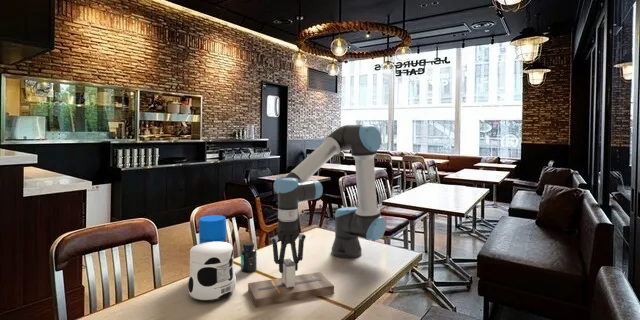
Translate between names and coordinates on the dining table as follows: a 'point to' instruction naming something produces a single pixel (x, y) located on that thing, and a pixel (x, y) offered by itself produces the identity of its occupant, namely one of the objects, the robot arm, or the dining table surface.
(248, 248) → the supplement bottle
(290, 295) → the wooden slotted board
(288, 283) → the fader
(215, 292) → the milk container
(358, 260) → the dining table surface
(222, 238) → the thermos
